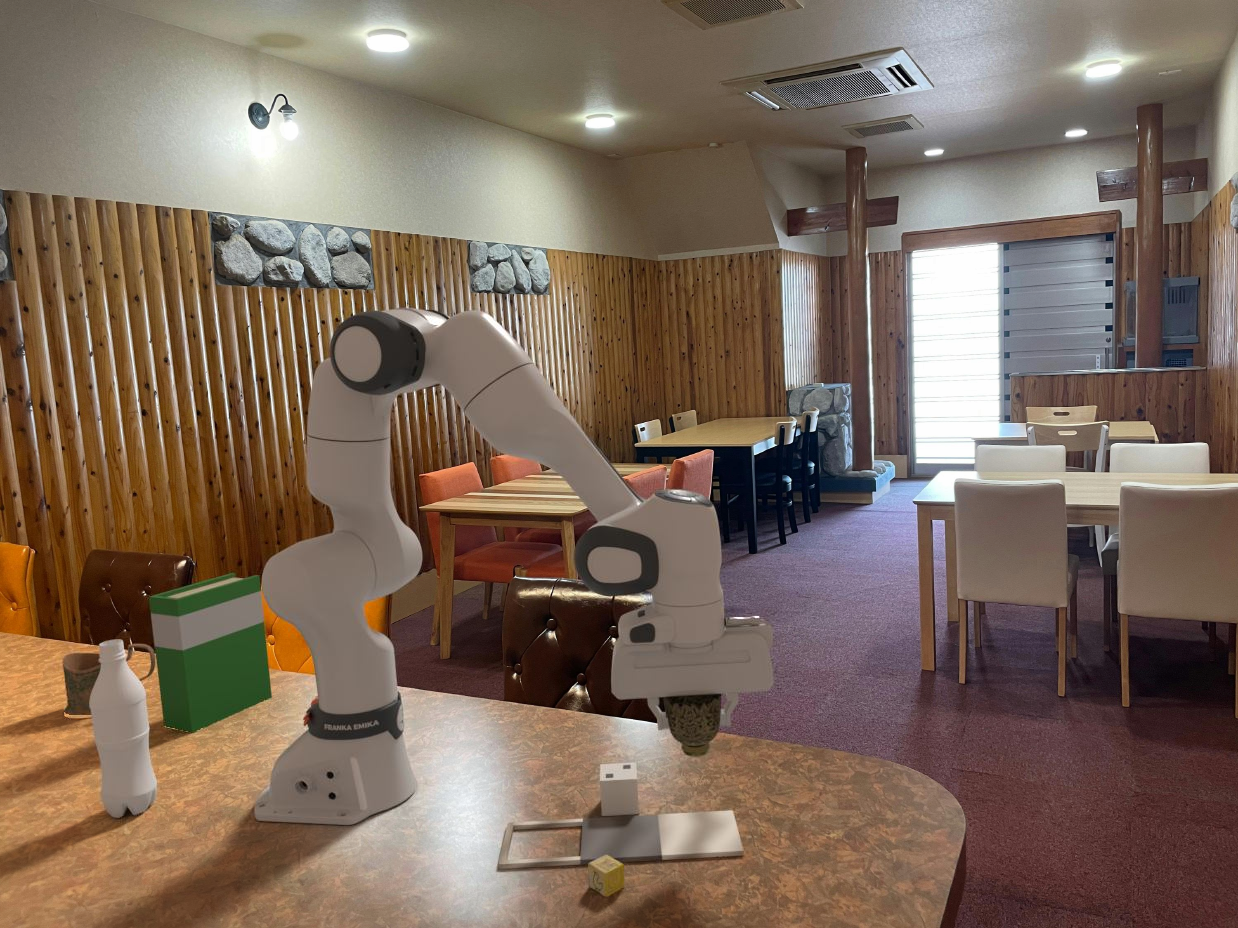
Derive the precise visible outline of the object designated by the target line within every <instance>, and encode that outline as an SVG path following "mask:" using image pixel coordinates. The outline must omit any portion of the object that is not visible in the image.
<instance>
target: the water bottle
mask: <svg viewBox="0 0 1238 928" xmlns="http://www.w3.org/2000/svg"><path fill="white" fill-rule="evenodd" d="M98 647H99V648H98V649H99V654H100V655H99V657H100V658H99V662H100V663H101V669H100V673H99V676H98V678H97V680H96V682H95V685H94V687H93V690H92V692H91V695H90V701H89V707H90V709H91V715H92V718H91V721H92V729H93V737H94V738H93V741H94V743H95V746H96V750H97V752H98V757H99V762H100V769H101V770H100V771H101V787H100V788H101V789H100V800H101V802H102V805H103V807H104V809H105V810H106V812H107V813H108V814H109V815H110V817H112V818H115V819H120V817H121V818H123V817H122V816H125V813H126V811H127V809H129V811H130V812H131V814H132V815H133V816H137V814H138V815H140V814H139V813H141V814H142V812H143V813H144V812H145V811H147V809H148V808H149V807H150V806H152V805H153V804H154V803H155V800H156V797H157V793H158V782H157V778H156V774H155V772H154V768H153V765H152V761H151V757H150V756H151V755H150V747H149V745H150V743H149V739H150V737H149V736H150V729H151V728H150V724H149V723H150V722H149V714H148V707H147V699H146V697H147V692H146V689H145V687H144V685H143V683H142V682H141V681H140V680H139V679H140V678H138V677H137V675H136V674H135V673H134V671H133V670H132V669H131V668H130V667H129V665H128V663H127V662H128V661H127V662H126V659H127V656H128V653H126V650H125V647H124V640H123V639H120V638H119V639H110V640H105V641H103V642H101V643H99V644H98ZM151 804H152V805H151ZM149 805H150V806H149Z"/></svg>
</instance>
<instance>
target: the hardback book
mask: <svg viewBox="0 0 1238 928" xmlns="http://www.w3.org/2000/svg"><path fill="white" fill-rule="evenodd" d="M262 597H263V596H262V586H261V578H260V575H257V574H255V575H251V576H248V577H245V578H242V577H241V578H240V577H237V576H236V573H235V572H234V573H233V572H231V573H227V574H224V575H221V576H218V577H217V576H216V577H214V578H210V579H207V580H206V579H205V580H202V581H199V582H195V583H192V584H189V585H185V586H182V587H181V586H180V587H179V588H175V589H171V590H168V591H164V592H160V593H157V594H153V595H151V596H148V602H149V610H150V618H151V619H150V620H151V625H152V628H151V629H152V636H153V643H154V644H153V645H154V654H155V662H156V668H157V677H158V686H159V692H160V693H159V695H160V703H161V704H160V705H161V710H162V712H161V713H162V719H163V726H166V727H170V728H175V729H178V730H177V731H179V730H183V731H182V732H184V731H188V732H191V733H190V734H194V733H196V732H198V731H197V730H199V731H201V730H202V729H201V728H203V729H205V728H208V727H209V725H210V726H211V725H214V724H216V723H218V721H219V722H220V721H223V720H225V719H227V718H230V717H232V716H235V715H236V714H238V713H241V712H243V711H245V710H247V709H250V708H251V707H254V706H256V705H258V703H259V704H260V702H261V703H263V702H265V701H267V700H269V698H270V699H272V698H273V696H272V686H271V684H272V683H271V676H270V675H271V674H270V666H269V657H268V645H267V639H266V628H265V618H264V608H263V607H264V606H263V599H262ZM271 697H272V698H271ZM264 700H265V701H264ZM249 707H250V708H249ZM244 709H245V710H244ZM229 716H230V717H229ZM213 723H214V724H213ZM204 727H205V728H204ZM200 729H201V730H200ZM195 731H196V732H195ZM188 732H187V733H188ZM193 732H194V733H193Z"/></svg>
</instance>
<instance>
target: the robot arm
mask: <svg viewBox="0 0 1238 928" xmlns="http://www.w3.org/2000/svg"><path fill="white" fill-rule="evenodd" d="M439 386H442V387H443V388H444V389H446V390H447V392H448V393H449V394H450V395H451V396H452V398H453V399H454V400H455V402H456V403H457V405H458V406H459V408H460V409H461V411H462V413H464V415H465V417H466V418H467V419H468V421H469V422H470V424H471V425H472V427H473V428H474V429H475V430H476V432H478V434H479V435H480V436H481V437H482V438H483V439H484V440H485V441H486V442H487V443H488V444H489V445H490V446H491V447H493V448H494V450H496V451H498V452H499V453H501V454H504V455H506V456H510V457H515V458H519V459H525V460H528V461H531V462H535V463H538V464H540V465H543V466H545V467H547V468H549V469H551V470H552V471H554V472H556V474H558V475H559V476H560V477H561V478H562V479H563V480H564V481H565V482H566V483H567V484H568V486H569V487H570V488H571V490H572V491H573V492H574V493H575V494H576V495H577V497H578V498H579V500H581V502H582V503H583V504H584V505H585V506H586V508H587V509H588V510H589V511H590V513H591V514H592V515H593V516H594V518H595V520H596V521H597V523H595V524H593V525H591V527H589V528H588V529H587V530H586V531H584V532H583V534H581V535H580V537H579V539H578V540H577V542H576V545H575V548H574V554H573V561H574V562H573V563H574V567H575V570H576V573H577V576H578V577H579V579H580V581H581V582H582V583H583V584H584V586H585V587H586V588H588V589H589V590H590V591H592V592H593V593H596V594H597V595H598V596H599V595H600V596H603V597H610V598H611V597H622V596H628V595H633V594H639V593H644V592H649V593H650V594H651V598H652V599H651V601H652V602H651V603H650V604H648V605H645V606H642V607H640V608H637V609H634V610H631V611H628V612H626V613H624V614H622V615H621V616H620V617H619V621H618V623H617V625H618V626H617V627H618V628H617V630H618V636H619V637H618V638H617V639H616V641H615V643H614V647H613V651H612V660H611V677H610V678H611V679H610V681H611V682H610V683H611V694H612V695H614V697H616V698H617V699H618V700H633V699H634V700H635V699H646V700H647V706H648V708H649V710H650V711H651V713H653V715H654V716H655V718H656V721H657V730H658V731H665V730H666V731H667V730H668V731H670V727H669V723H668V718H667V716H666V712H665V711H663V710H661V708H660V707H659V705H660V698H663V697H672V696H689V695H707V694H721V695H723V694H725V696H726V699H727V701H726V702H725V705H724V706H723V708H721V715H720V726H719V728H721V727H731V724H732V721H731V714H732V713H733V711H734V710H735V708H736V706H737V704H738V703H739V699H740V697H739V694H740V693H741V694H742V693H755V692H757V693H758V692H767V691H769V690H770V689H771V688H772V686H773V684H774V682H775V680H774V670H773V663H772V658H771V653H770V649H771V648H772V646H773V644H774V628H773V625H771V623H770V622H769V621H767V620H766V619H764V618H761V616H759V615H752V616H749V617H747V616H746V617H745V616H744V617H740V616H738V617H737V616H734V617H733V616H732V617H727V616H726V617H725V605H724V601H725V600H724V591H723V587H722V585H721V579H720V571H721V568H722V563H723V562H722V558H723V557H722V543H721V542H722V541H721V534H720V526H719V519H718V515H717V511H716V508H715V506H714V504H713V502H712V501H711V500H710V499H709V498H708V497H706V495H703V494H701V493H698V492H695V491H691V490H687V489H686V490H685V489H680V488H675V489H670V488H669V489H668V488H667V489H660V490H657V491H655V492H654V493H653V494H652V495H650V496H649V498H647V499H645V498H644V497H642V496H641V495H640V494H638V493H637V492H636V491H635V490H634V489H633V488H632V487H631V486H630V485H629V483H628V482H627V481H626V480H625V478H624V477H623V476H622V475H621V474H620V472H619V471H618V470H617V469H616V468H615V466H614V465H613V463H611V461H610V460H609V459H608V458H607V457H606V455H605V454H604V452H602V450H601V449H600V448H599V447H598V446H597V444H596V443H595V442H594V441H593V439H592V438H591V436H589V435H588V434H587V432H586V431H585V430H584V429H583V428H582V427H581V426H580V424H579V423H578V422H577V420H576V419H575V418H574V416H573V415H572V414H571V412H570V411H569V410H568V409H567V407H565V405H564V404H563V402H562V401H561V399H560V397H558V395H557V394H556V392H555V391H554V389H553V388H552V387H551V385H550V383H549V382H548V381H547V379H546V378H545V376H544V375H543V374H542V372H541V371H540V370H539V368H538V367H537V365H536V364H535V362H534V361H533V360H532V359H531V357H530V356H529V354H528V353H527V352H526V351H525V349H524V348H523V347H522V346H521V345H520V344H519V343H518V341H517V340H516V339H515V338H514V337H513V336H512V334H511V333H510V332H508V331H507V330H506V328H504V327H503V326H502V325H501V324H500V322H498V321H497V320H496V319H495V318H494V317H493V316H491V314H489V313H487V312H485V311H482V310H478V309H475V310H474V309H473V310H471V309H470V310H465V311H460V312H459V313H456V314H454V315H452V316H450V315H448V314H446V313H444V312H441V311H439V310H434V309H419V308H414V307H395V308H393V309H386V310H385V309H384V310H367V311H363V312H358V313H356V314H353V315H351V316H350V317H348V318H345V320H343V321H342V322H341V323H340V324H339V325H338V326H337V327H336V328H335V331H334V332H333V334H332V337H331V339H330V345H329V357H328V358H325V359H324V360H322V362H320V363H319V364H318V365H317V368H316V369H315V372H314V375H313V381H312V384H311V390H310V394H309V395H310V396H309V402H308V411H307V422H306V423H307V425H306V426H307V427H306V429H307V430H306V433H307V434H306V439H307V440H306V485H307V488H308V491H309V492H310V494H311V495H312V496H313V498H315V499H316V500H318V501H319V502H321V503H322V504H324V505H326V506H328V507H329V509H330V511H331V516H332V518H333V519H332V520H333V530H332V532H331V533H327V534H323V535H319V536H316V537H311V538H308V539H304V540H301V541H298V542H295V544H294V543H293V544H292V545H290V546H288V547H286V548H285V549H283V550H281V551H280V552H279V551H278V553H276V554H274V555H273V556H271V557H270V558H269V559H268V561H266V564H265V566H264V568H263V571H262V576H261V593H262V595H263V596H262V597H263V599H264V601H265V603H266V605H267V606H268V608H269V609H270V610H271V612H272V613H273V614H274V615H276V616H277V617H278V618H280V619H281V620H283V621H284V622H287V623H289V624H290V625H292V626H293V627H294V628H295V629H296V630H297V631H298V632H299V633H300V634H301V636H302V637H303V639H304V641H305V642H306V645H307V647H308V649H309V651H310V655H311V659H312V662H313V670H314V676H315V684H316V691H317V695H316V696H315V698H314V699H312V701H311V703H310V706H309V708H308V709H307V710H306V712H305V713H306V714H304V717H303V719H302V720H303V726H304V727H305V726H307V730H306V731H305V732H303V733H302V734H301V735H300V736H299V737H298V738H297V739H295V740H294V741H293V742H292V743H291V744H290V745H289V746H288V747H287V748H286V749H285V750H283V751H282V753H281V754H280V755H279V756H278V758H277V759H276V761H275V762H274V764H273V767H272V771H271V774H270V780H269V784H268V785H267V786H266V787H265V788H264V789H263V791H262V792H261V793H260V794H259V796H258V798H257V799H256V802H255V803H254V808H253V809H254V811H253V812H254V813H253V814H254V818H255V820H256V821H261V822H275V823H276V822H277V823H278V822H279V823H298V824H317V825H318V824H321V825H322V824H323V825H343V826H350V825H355V824H357V823H359V822H361V821H363V820H364V819H367V818H368V817H369V816H372V815H374V814H377V813H381V812H382V811H386V810H389V809H391V808H393V807H395V806H397V805H400V804H401V803H403V802H405V801H406V800H408V798H409V797H411V795H413V793H414V792H415V791H416V789H417V788H418V787H417V786H418V781H417V779H416V778H417V777H416V776H415V774H414V772H413V769H412V766H411V763H410V759H409V755H408V752H407V748H406V743H405V738H404V734H403V733H404V729H405V715H404V705H403V704H402V703H403V702H402V695H401V692H400V691H398V680H397V670H396V658H395V657H396V656H395V648H394V645H393V642H391V639H390V638H388V637H387V636H386V635H385V634H384V633H381V632H379V631H377V630H375V629H372V628H371V627H370V625H369V623H368V621H367V617H366V615H365V612H364V611H365V604H367V603H369V602H372V601H375V600H377V599H380V598H383V597H386V596H389V595H391V594H394V593H395V592H396V591H398V590H400V589H402V588H403V587H404V586H405V585H407V584H408V583H409V582H411V581H412V580H414V579H415V578H416V576H418V574H419V572H420V570H421V567H422V564H423V550H422V546H421V543H420V540H419V539H418V537H417V535H416V534H415V533H416V532H414V531H413V530H412V529H411V528H410V527H409V526H407V525H406V524H405V523H404V522H403V521H402V519H401V518H400V516H399V514H398V512H397V508H396V507H395V503H394V499H393V495H392V488H391V415H392V413H391V412H392V407H393V404H394V402H395V400H396V398H397V397H398V396H399V395H400V394H408V393H413V392H417V391H421V390H425V389H431V388H435V387H439Z"/></svg>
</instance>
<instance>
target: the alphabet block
mask: <svg viewBox="0 0 1238 928" xmlns="http://www.w3.org/2000/svg"><path fill="white" fill-rule="evenodd" d="M587 870H588V871H587V872H588V873H587V874H588V876H587V877H588V887H589V888H591V889H592V890H594V891H595V892H597V893H599V894H600V895H602V896H603V897H605V898H608V897H609V896H611V895H613V894H615V893H617V892H619V891H620V890H622V889H624V888H625V864H623V862H619V861H617V860H615V859H613V858H612V857H610V856H608V855H604V856H602V857H600V858H598V859H596V860H594V861H592V862H590V863H588V864H587Z"/></svg>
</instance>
